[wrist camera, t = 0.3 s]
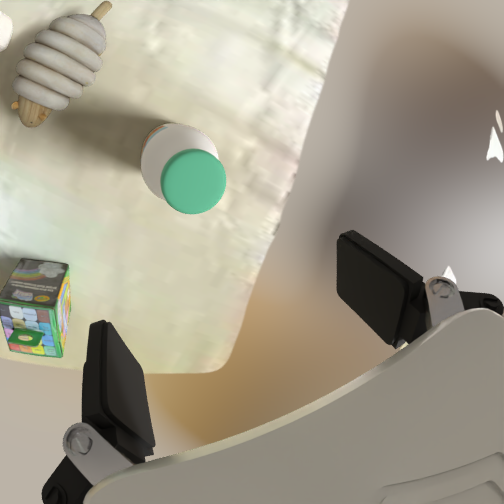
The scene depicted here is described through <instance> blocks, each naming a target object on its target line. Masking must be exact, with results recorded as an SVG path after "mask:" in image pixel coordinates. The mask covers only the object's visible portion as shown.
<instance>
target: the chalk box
mask: <svg viewBox="0 0 504 504" xmlns="http://www.w3.org/2000/svg"><path fill="white" fill-rule="evenodd" d="M70 312H71V302H70V285H69V265H68V264H61V263H53V262H45V261H36V260H28V259H21V260H20V262H19V263H18V265H17V266H16V268H15V270H14V271H13V273H12V275H11V276H10V278H9V279H8V281H7V283H6V285H5V286H4V288H3V290H2V292H1V293H0V319H1V323H2V326H3V330H4V333H5V336H6V340H7V343H8V346H9V349H10V351H12V352H17V353H23V354H30V355H37V356H46V357H57V358H61V357H63V351H64V345H65V339H66V333H67V327H68V322H69V316H70Z"/></svg>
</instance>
